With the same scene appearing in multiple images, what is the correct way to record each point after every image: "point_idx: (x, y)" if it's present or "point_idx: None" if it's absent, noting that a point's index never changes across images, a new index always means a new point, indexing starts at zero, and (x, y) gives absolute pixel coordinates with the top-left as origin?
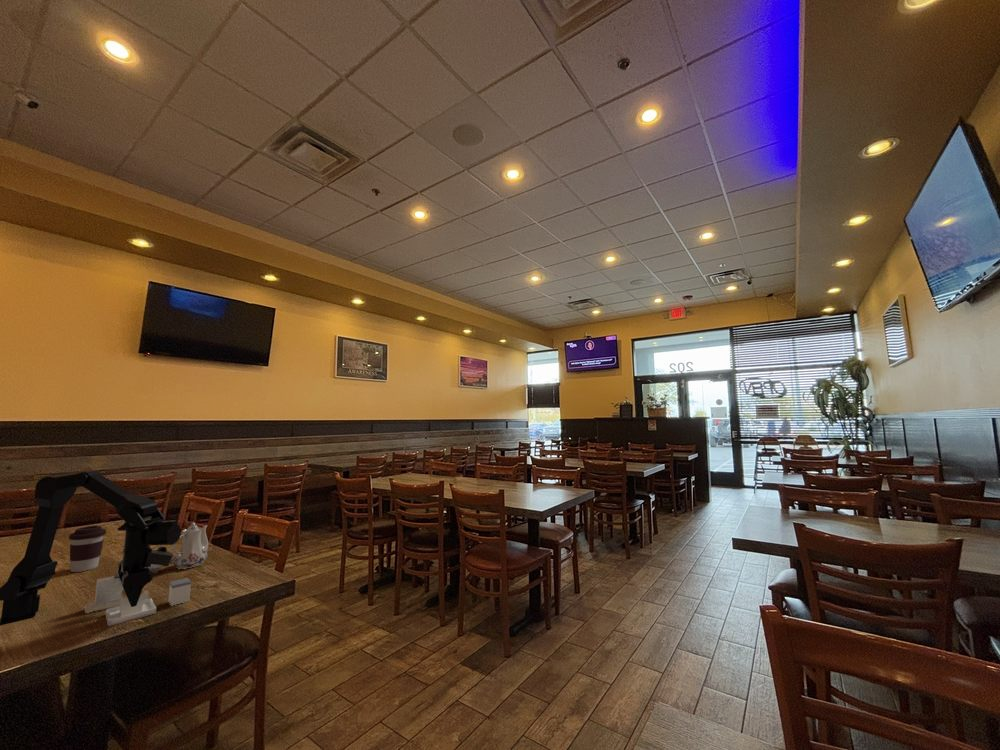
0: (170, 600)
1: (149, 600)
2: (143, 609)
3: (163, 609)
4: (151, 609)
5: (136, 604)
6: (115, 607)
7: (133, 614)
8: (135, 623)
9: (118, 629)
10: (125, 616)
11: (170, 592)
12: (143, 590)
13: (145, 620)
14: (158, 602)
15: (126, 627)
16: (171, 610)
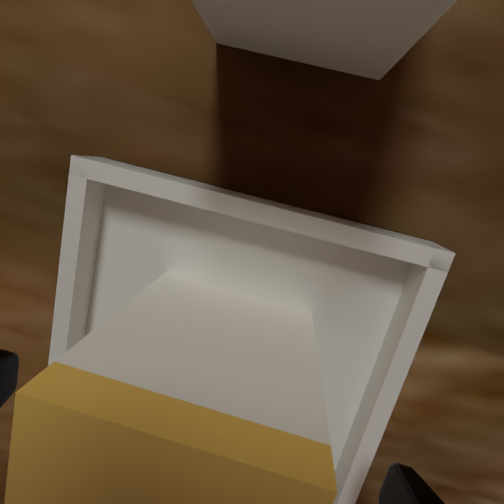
0: (334, 52)
1: (97, 179)
2: (252, 278)
3: (384, 156)
4: (438, 295)
5: (419, 479)
6: None
7: (387, 418)
8: (473, 406)
9: (461, 500)
10: (369, 466)
11: (292, 1)
12: (333, 496)
13: (493, 346)
14: (138, 107)
15: (484, 465)
16: (498, 122)
